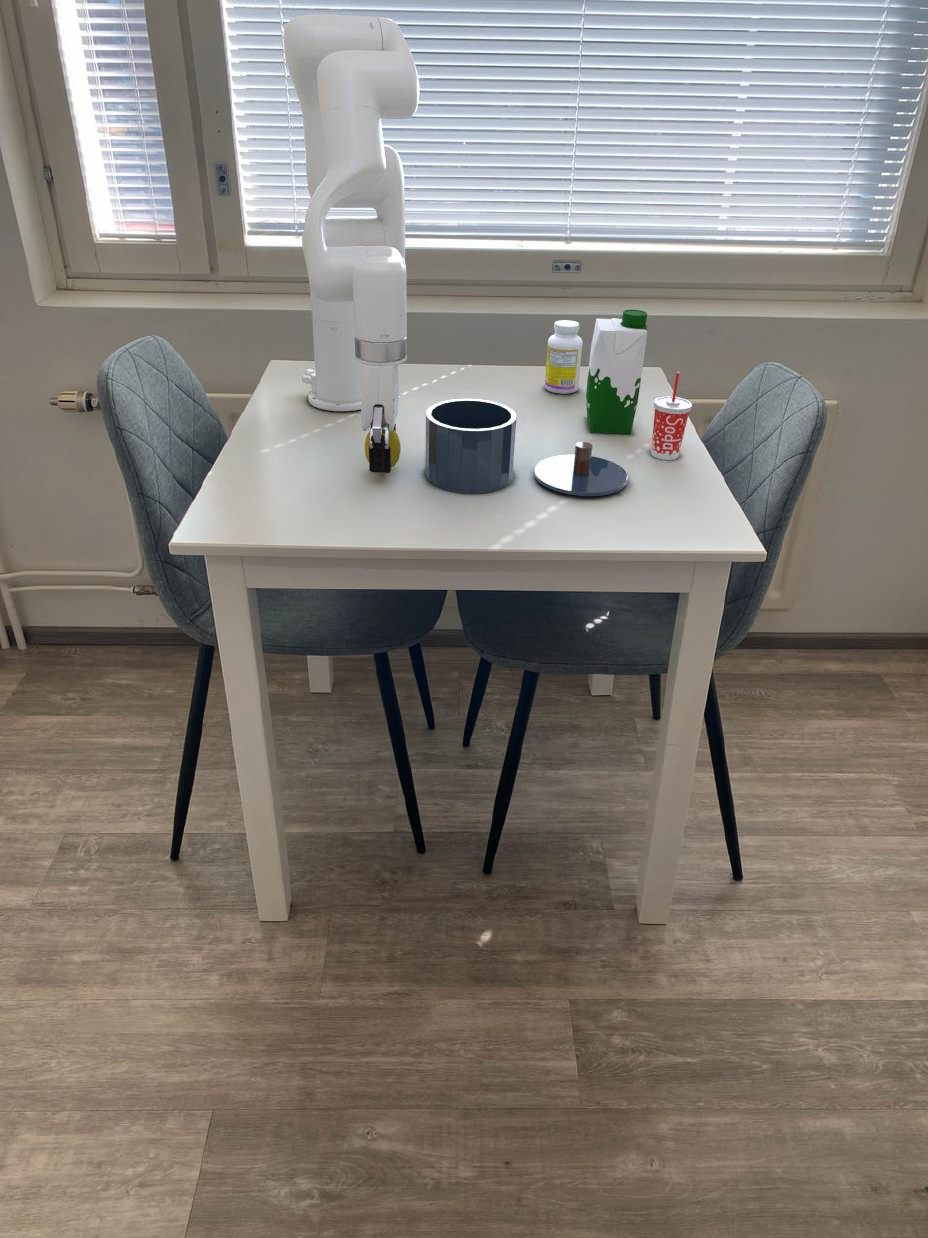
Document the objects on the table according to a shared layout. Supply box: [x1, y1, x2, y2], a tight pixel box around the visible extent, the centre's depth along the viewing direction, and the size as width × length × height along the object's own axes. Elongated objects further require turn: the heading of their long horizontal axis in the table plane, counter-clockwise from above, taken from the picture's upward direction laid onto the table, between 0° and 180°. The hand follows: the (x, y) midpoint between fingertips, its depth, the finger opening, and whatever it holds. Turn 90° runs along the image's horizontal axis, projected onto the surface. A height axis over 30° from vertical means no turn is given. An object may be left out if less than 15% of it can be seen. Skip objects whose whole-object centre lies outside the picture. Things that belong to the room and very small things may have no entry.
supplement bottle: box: [544, 319, 583, 395], centre depth 173 cm, size 7×7×13 cm
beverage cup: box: [650, 371, 693, 461], centre depth 146 cm, size 6×6×14 cm
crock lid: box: [533, 441, 629, 497], centre depth 139 cm, size 15×15×6 cm
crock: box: [424, 398, 517, 495], centre depth 138 cm, size 14×14×10 cm
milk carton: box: [585, 309, 648, 435], centre depth 155 cm, size 9×9×20 cm
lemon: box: [364, 425, 402, 469], centre depth 138 cm, size 6×6×8 cm
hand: (383, 459), depth 139 cm, fingers open, 9 cm apart
